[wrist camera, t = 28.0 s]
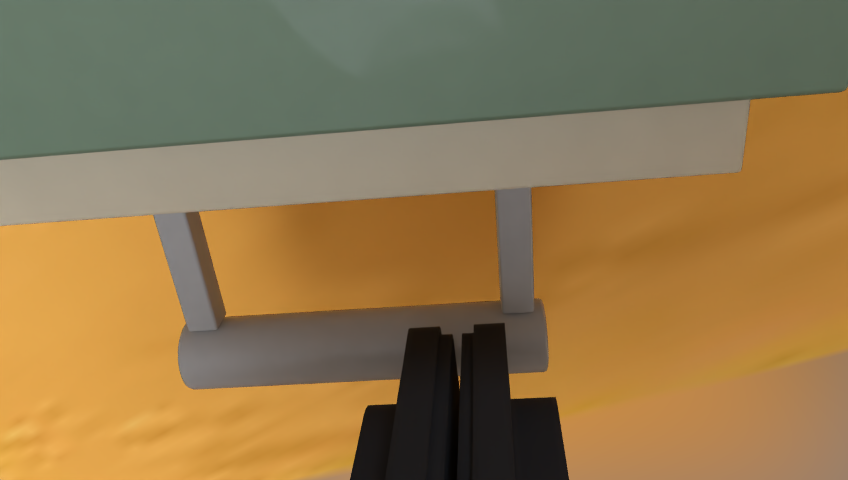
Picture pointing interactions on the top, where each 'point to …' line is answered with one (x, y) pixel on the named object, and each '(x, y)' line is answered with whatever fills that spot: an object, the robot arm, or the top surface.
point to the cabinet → (385, 64)
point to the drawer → (357, 180)
